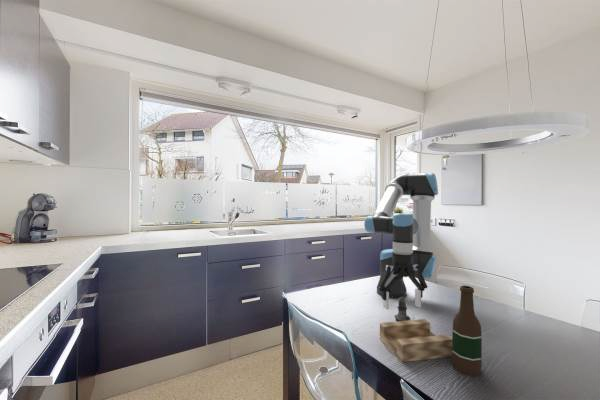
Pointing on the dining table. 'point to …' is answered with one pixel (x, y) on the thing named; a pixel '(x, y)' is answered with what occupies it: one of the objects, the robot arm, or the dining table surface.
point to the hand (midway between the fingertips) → (402, 307)
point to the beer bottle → (467, 336)
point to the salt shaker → (402, 311)
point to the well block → (414, 340)
